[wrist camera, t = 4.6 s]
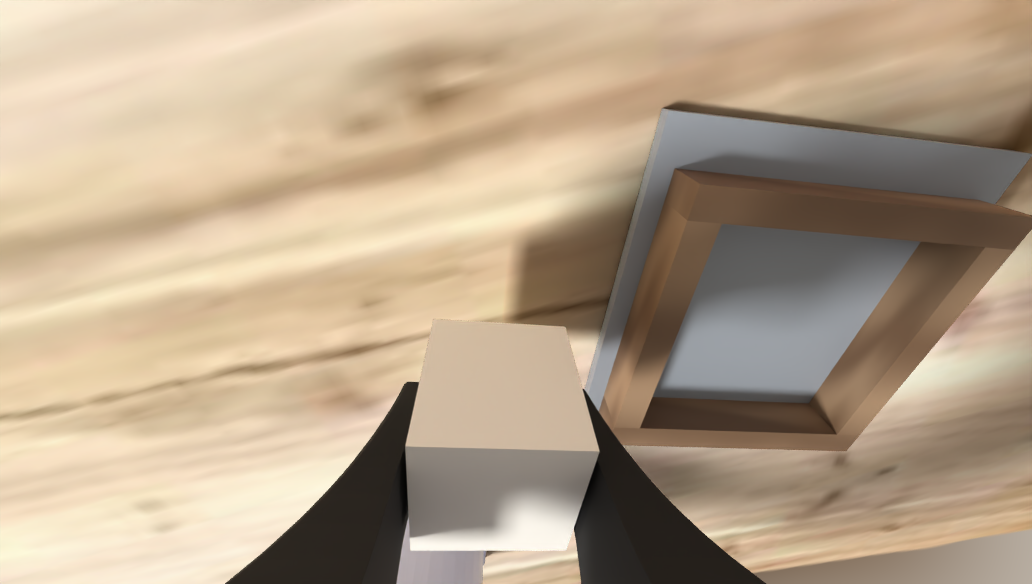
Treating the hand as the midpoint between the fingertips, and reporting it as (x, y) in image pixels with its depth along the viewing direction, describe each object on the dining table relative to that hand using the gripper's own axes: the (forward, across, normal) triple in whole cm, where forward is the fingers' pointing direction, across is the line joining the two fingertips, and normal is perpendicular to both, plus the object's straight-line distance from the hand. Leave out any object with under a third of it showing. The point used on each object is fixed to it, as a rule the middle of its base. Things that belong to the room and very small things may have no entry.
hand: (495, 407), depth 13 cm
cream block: (+2, 0, 0) cm, 2 cm away
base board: (+5, -12, -1) cm, 13 cm away
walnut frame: (+5, -12, -1) cm, 13 cm away
